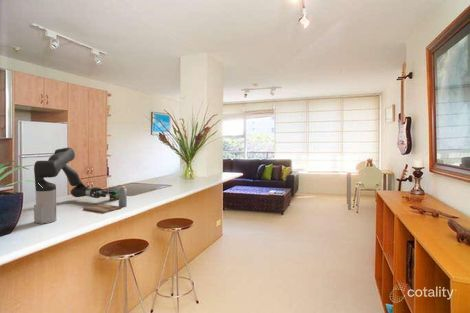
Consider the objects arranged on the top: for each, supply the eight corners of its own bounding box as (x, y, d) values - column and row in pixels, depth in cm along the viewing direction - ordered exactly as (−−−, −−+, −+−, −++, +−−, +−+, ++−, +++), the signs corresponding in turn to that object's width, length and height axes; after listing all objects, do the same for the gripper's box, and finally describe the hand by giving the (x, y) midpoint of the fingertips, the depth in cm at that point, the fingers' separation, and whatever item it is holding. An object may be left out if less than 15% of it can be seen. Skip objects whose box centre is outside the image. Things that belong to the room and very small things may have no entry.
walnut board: (103, 213, 170) (103, 211, 170) (83, 210, 177) (83, 208, 177) (121, 208, 183) (121, 206, 183) (101, 205, 190) (101, 203, 190)
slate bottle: (122, 207, 186) (122, 187, 185) (117, 206, 188) (116, 186, 187) (128, 206, 190) (128, 186, 190) (122, 205, 192) (122, 185, 192)
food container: (115, 201, 205) (115, 187, 204) (108, 200, 206) (108, 187, 205) (125, 198, 217) (125, 185, 216) (118, 197, 218) (118, 185, 217)
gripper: (85, 188, 193) (102, 190, 187) (102, 185, 206) (118, 187, 200) (85, 199, 194) (102, 201, 187) (102, 195, 207) (118, 198, 200)
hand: (110, 194), depth 193 cm, fingers open, 8 cm apart
